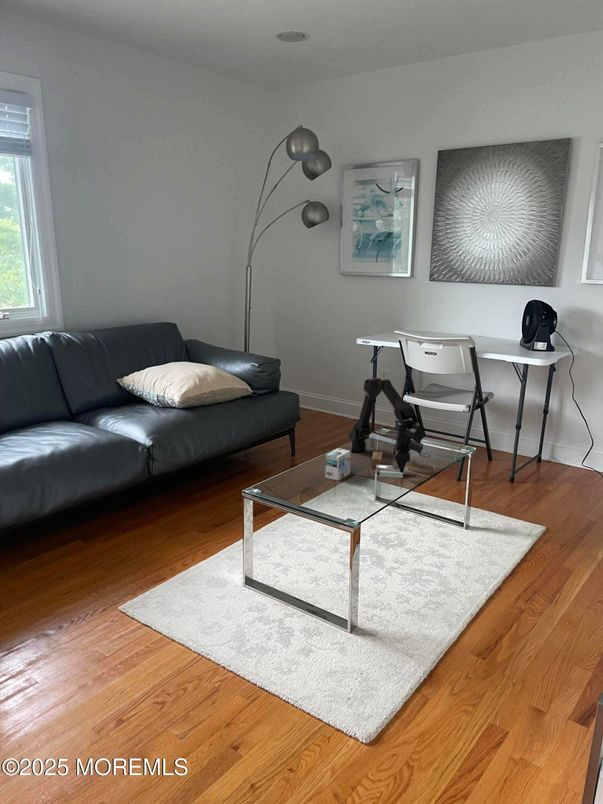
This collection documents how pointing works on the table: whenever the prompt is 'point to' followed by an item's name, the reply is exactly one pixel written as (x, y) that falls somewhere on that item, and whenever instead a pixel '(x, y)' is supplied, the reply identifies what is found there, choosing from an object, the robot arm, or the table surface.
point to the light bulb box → (338, 464)
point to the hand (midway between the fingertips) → (402, 468)
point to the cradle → (391, 474)
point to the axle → (391, 468)
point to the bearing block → (376, 459)
